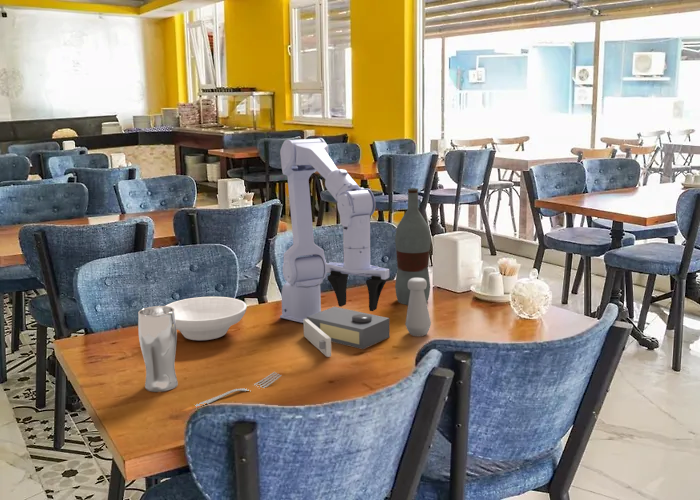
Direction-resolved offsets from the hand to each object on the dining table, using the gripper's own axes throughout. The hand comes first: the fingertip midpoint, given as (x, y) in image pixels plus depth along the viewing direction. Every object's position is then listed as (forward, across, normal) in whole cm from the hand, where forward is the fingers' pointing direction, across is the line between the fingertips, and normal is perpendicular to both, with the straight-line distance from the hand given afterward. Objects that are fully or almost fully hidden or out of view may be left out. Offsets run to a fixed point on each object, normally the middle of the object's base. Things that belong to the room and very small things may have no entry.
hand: (357, 307), depth 160 cm
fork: (+10, +8, +35) cm, 38 cm away
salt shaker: (+9, -8, -14) cm, 19 cm away
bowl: (+9, +35, +10) cm, 37 cm away
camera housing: (+9, +5, -5) cm, 11 cm away
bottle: (+9, +4, -38) cm, 40 cm away
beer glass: (+9, +22, +37) cm, 44 cm away
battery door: (+9, +8, +4) cm, 13 cm away
